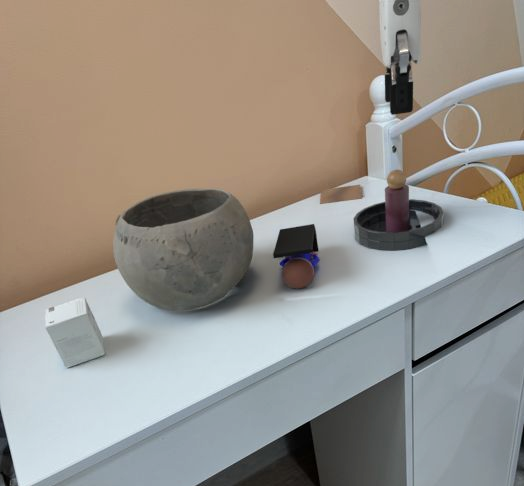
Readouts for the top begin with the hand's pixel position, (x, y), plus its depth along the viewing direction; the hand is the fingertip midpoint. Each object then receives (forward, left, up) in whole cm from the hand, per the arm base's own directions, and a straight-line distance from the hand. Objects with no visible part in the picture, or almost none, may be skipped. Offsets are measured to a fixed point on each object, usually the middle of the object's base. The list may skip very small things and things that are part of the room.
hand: (398, 106), depth 77 cm
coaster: (+10, -24, -21) cm, 33 cm away
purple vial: (0, 0, -21) cm, 21 cm away
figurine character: (+17, +11, -21) cm, 30 cm away
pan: (0, 0, -21) cm, 21 cm away
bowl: (+35, +13, -21) cm, 43 cm away
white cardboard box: (+49, +30, -21) cm, 62 cm away
